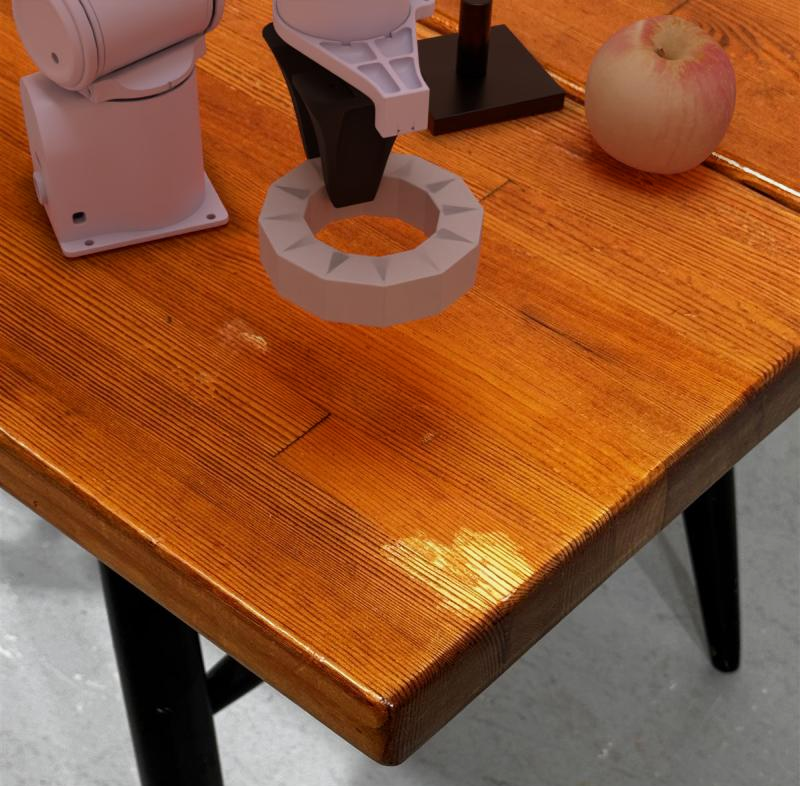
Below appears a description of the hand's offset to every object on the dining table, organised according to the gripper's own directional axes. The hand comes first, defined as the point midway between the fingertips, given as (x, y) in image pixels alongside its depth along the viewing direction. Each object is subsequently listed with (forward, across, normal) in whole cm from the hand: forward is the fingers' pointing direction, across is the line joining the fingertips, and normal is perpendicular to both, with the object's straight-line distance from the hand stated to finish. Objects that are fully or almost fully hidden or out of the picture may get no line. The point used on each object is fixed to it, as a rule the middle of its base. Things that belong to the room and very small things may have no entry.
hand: (342, 184), depth 69 cm
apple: (+10, +10, -24) cm, 27 cm away
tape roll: (+1, -4, 0) cm, 4 cm away
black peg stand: (+10, +20, -16) cm, 28 cm away
